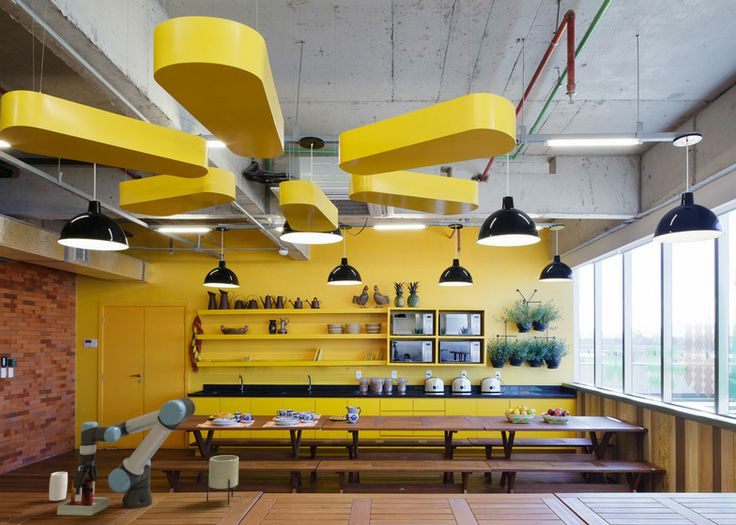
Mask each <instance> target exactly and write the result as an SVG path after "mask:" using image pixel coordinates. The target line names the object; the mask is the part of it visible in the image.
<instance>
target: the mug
mask: <svg viewBox="0 0 736 525" xmlns="http://www.w3.org/2000/svg"><path fill="white" fill-rule="evenodd" d="M74 481H75V480H72V482H71V494H70V500H71V506H92V503H93V497H94V495H93V480H92V479H89V478H84V480H83V483H82V485H81V487H82V496H81V501H75V495H76V488H74V487H73V485H74Z"/></svg>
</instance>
